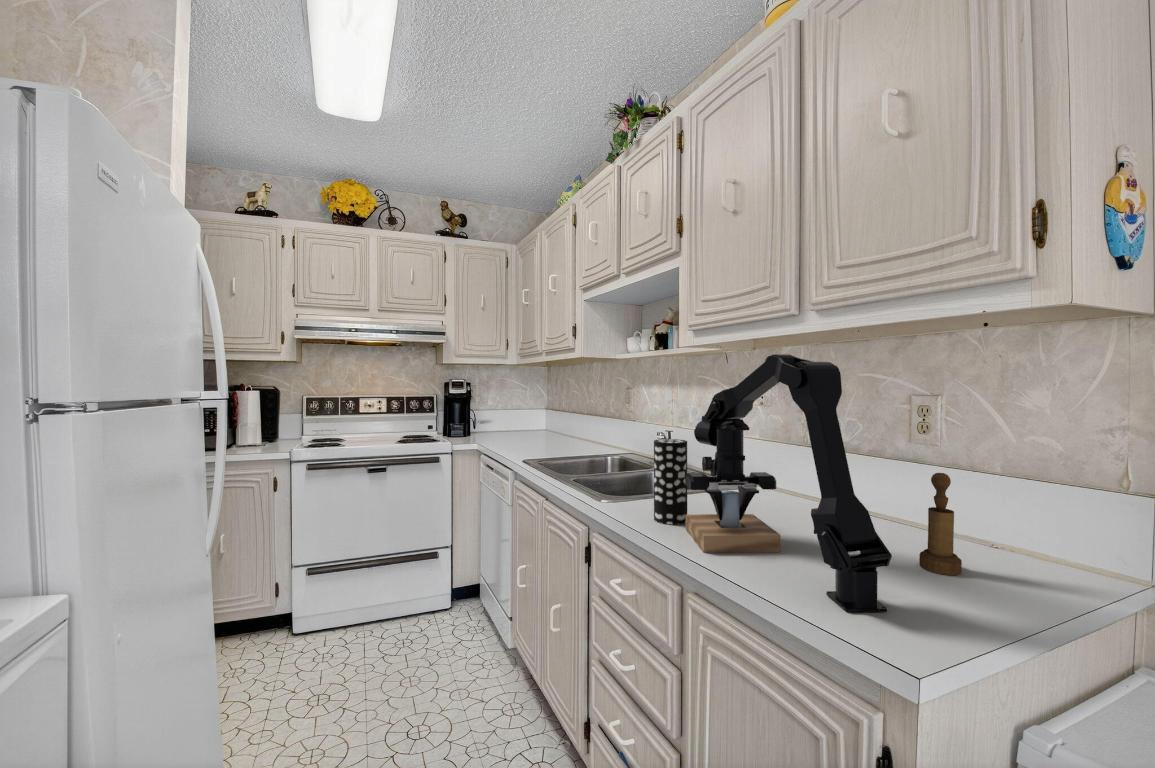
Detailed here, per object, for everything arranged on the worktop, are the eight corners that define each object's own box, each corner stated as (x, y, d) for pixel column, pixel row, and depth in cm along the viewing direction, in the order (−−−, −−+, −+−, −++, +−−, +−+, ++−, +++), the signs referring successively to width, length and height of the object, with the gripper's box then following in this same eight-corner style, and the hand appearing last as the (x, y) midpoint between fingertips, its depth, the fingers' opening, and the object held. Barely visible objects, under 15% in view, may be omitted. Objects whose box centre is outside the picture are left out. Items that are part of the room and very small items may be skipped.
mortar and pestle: (969, 576, 92) (970, 477, 92) (929, 574, 93) (929, 476, 93) (950, 563, 98) (951, 470, 98) (913, 561, 100) (913, 469, 99)
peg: (741, 535, 111) (741, 494, 111) (723, 536, 111) (723, 494, 111) (735, 530, 115) (735, 490, 115) (718, 530, 115) (718, 490, 115)
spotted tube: (652, 523, 126) (652, 442, 126) (655, 514, 134) (655, 438, 134) (686, 525, 124) (686, 443, 124) (687, 516, 132) (687, 439, 132)
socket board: (780, 551, 105) (780, 534, 105) (703, 552, 105) (703, 535, 105) (752, 528, 121) (752, 514, 121) (685, 529, 121) (685, 514, 121)
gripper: (758, 444, 121) (758, 509, 121) (679, 444, 121) (680, 510, 121) (777, 451, 110) (777, 523, 110) (691, 451, 110) (691, 524, 110)
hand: (729, 519), depth 113 cm, fingers closed on peg, 4 cm apart
